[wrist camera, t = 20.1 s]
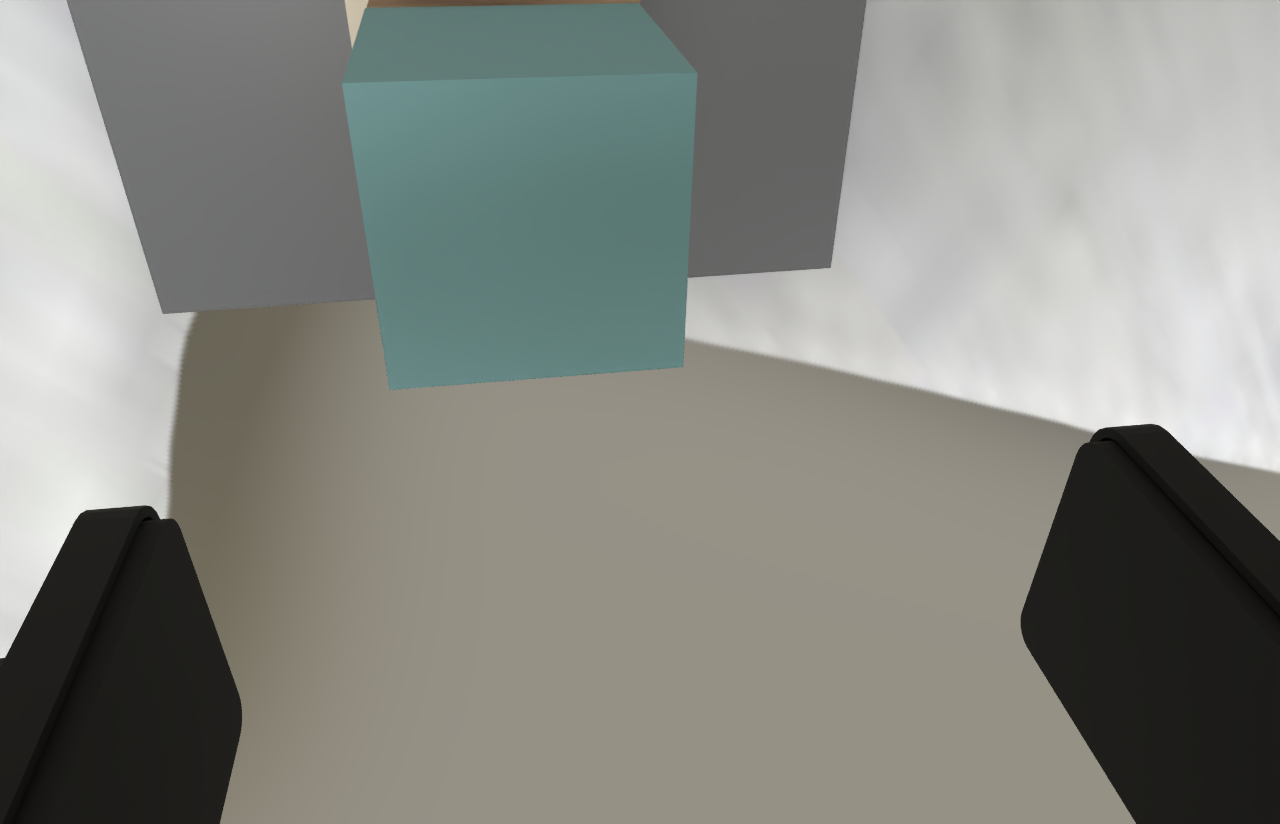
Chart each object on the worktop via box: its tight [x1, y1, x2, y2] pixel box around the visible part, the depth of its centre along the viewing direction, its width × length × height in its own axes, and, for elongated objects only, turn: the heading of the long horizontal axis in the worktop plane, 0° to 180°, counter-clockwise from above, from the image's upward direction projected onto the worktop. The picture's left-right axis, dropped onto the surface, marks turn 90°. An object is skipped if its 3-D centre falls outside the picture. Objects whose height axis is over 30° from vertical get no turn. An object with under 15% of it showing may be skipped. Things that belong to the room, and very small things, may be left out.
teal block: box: [342, 3, 697, 390], centre depth 20 cm, size 6×6×6 cm
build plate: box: [67, 0, 866, 314], centre depth 28 cm, size 22×14×2 cm, turn 89°
